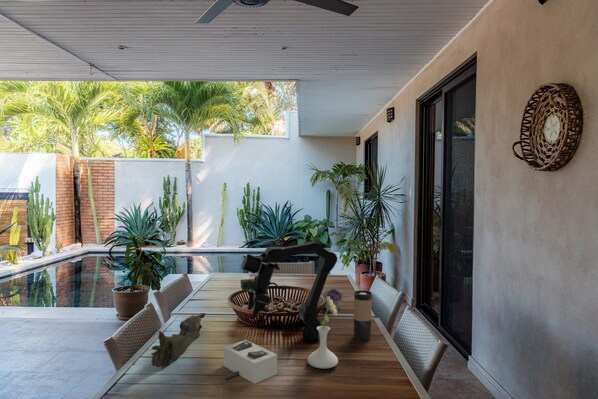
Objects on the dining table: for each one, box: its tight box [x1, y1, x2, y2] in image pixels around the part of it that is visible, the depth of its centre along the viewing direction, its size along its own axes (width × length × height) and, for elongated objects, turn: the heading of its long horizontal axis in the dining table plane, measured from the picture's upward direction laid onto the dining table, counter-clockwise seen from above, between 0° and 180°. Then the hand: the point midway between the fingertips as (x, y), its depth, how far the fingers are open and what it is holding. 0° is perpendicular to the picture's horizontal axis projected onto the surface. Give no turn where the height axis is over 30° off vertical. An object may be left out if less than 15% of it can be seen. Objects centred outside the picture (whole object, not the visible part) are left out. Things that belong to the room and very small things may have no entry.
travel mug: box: [353, 290, 373, 342], centre depth 174 cm, size 8×8×20 cm
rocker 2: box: [248, 351, 268, 358], centre depth 138 cm, size 6×4×1 cm, turn 135°
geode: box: [323, 288, 344, 314], centre depth 218 cm, size 20×12×10 cm, turn 177°
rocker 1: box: [233, 340, 253, 351], centre depth 145 cm, size 6×4×1 cm, turn 134°
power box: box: [223, 339, 278, 384], centre depth 140 cm, size 15×18×7 cm
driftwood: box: [150, 312, 206, 369], centre depth 159 cm, size 4×52×14 cm, turn 176°
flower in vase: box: [307, 296, 339, 370], centre depth 147 cm, size 13×11×25 cm
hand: (250, 312), depth 162 cm, fingers open, 9 cm apart
